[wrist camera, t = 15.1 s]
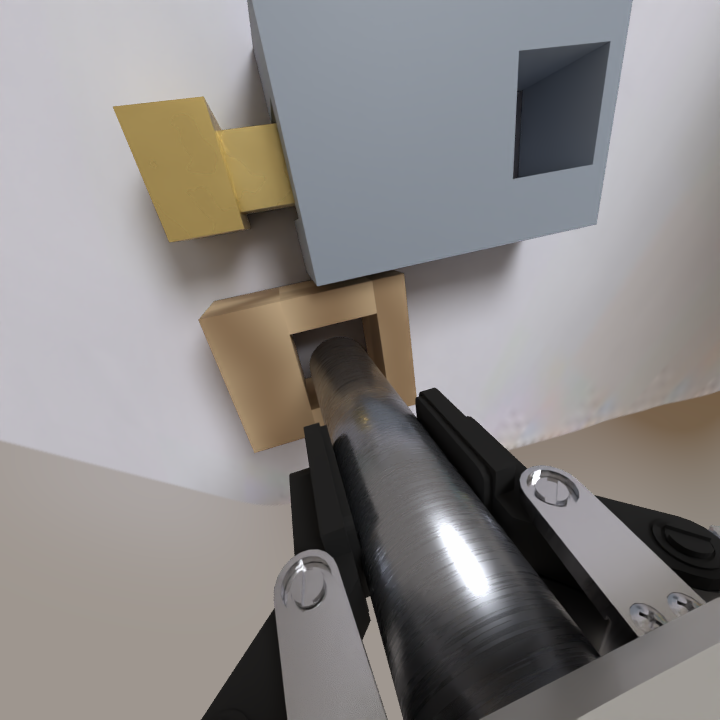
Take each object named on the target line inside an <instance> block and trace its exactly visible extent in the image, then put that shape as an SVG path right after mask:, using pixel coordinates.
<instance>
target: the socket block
mask: <svg viewBox="0 0 720 720" xmlns="http://www.w3.org/2000/svg"><path fill="white" fill-rule="evenodd" d="M632 1H633V0H247V2H248V11H249V19H250V27H251V36H252V44H253V49H254V54H255V58H256V62H257V66H258V70H259V75H260V79H261V83H262V87H263V91H264V95H265V100H266V104H267V108H268V112H269V116H270V121H271V123H275V122H276V124H277V128H278V132H279V136H280V141H281V145H282V149H283V154H284V158H285V162H286V166H287V171H288V175H289V179H290V184H291V188H292V192H293V197H294V201H295V205H296V209H297V214H298V218H299V219H297V220H295V225H296V229H297V233H298V238H299V242H300V246H301V250H302V254H303V259H304V263H305V267H306V271H307V273H308V274H309V276H310V277H311V278H312V280H313V281H314V282H315V284H316V285H317V286H321V285H326V284H330V283H335V282H339V281H344V280H348V279H353V278H357V277H362V276H366V275H371V274H375V273H380V272H384V271H389V270H393V269H398V268H402V267H407V266H411V265H416V264H420V263H425V262H429V261H434V260H438V259H443V258H447V257H452V256H456V255H461V254H465V253H470V252H474V251H479V250H483V249H488V248H492V247H497V246H501V245H506V244H510V243H515V242H519V241H524V240H528V239H533V238H537V237H542V236H546V235H551V234H555V233H560V232H564V231H569V230H573V229H578V228H582V227H587V226H591V225H596V224H597V218H598V211H599V205H600V199H601V193H602V187H603V180H604V174H605V168H606V162H607V156H608V150H609V143H610V137H611V131H612V125H613V119H614V112H615V106H616V100H617V94H618V88H619V81H620V75H621V69H622V63H623V57H624V51H625V44H626V38H627V32H628V26H629V20H630V13H631V7H632ZM522 90H523V95H522V114H521V132H520V151H519V169H518V178H516V179H513V166H514V145H515V124H516V103H517V91H522Z"/></svg>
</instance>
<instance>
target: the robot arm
mask: <svg viewBox="0 0 720 720" xmlns="http://www.w3.org/2000/svg"><path fill="white" fill-rule="evenodd" d="M415 404H416V413H417V419H418V420H419V422H420V423H421V424H422V425H423V427H424V428H425V429H426V431H427V432H428V433H429V434H430V436H431V437H432V438H433V440H434V441H435V442H436V444H437V445H438V446H439V447H440V449H441V450H442V451H443V453H444V454H445V455H446V456H447V458H448V459H449V460H450V462H451V463H452V464H453V466H454V467H455V468H456V469H457V471H458V472H459V473H460V475H461V476H462V477H463V478H464V480H465V481H466V482H467V484H468V485H469V486H470V488H471V489H472V490H473V491H474V493H475V494H476V495H477V497H478V498H479V499H480V500H481V502H482V503H483V504H484V506H485V507H486V508H487V510H488V511H489V512H490V513H491V515H492V516H493V517H494V519H495V520H496V521H497V522H498V524H499V525H500V526H501V528H502V529H503V530H504V532H505V533H506V534H507V535H508V537H509V538H510V539H511V541H512V542H513V543H514V544H515V546H516V547H517V548H518V550H519V551H520V552H521V554H522V555H523V556H524V557H525V559H526V560H527V561H528V563H529V564H530V565H531V566H532V568H533V569H534V570H535V572H536V573H537V574H538V576H539V577H540V578H541V579H542V581H543V582H544V583H545V585H546V586H547V587H548V588H549V590H550V591H551V592H552V594H553V595H554V596H555V598H556V599H557V600H558V601H559V603H560V604H561V605H562V607H563V608H564V609H565V610H566V612H567V613H568V614H569V616H570V617H571V618H572V620H573V621H574V622H575V623H576V625H577V626H578V627H579V629H580V630H581V631H582V632H583V634H584V635H585V636H586V638H587V639H588V640H589V642H590V643H591V644H592V645H593V647H594V648H595V649H596V651H597V652H598V653H599V654H600V656H601V657H600V658H598V659H596V660H594V661H592V662H590V663H588V664H586V665H584V666H582V667H580V668H578V669H576V670H574V671H572V672H571V673H569V674H567V675H565V676H563V677H561V678H559V679H557V680H555V681H553V682H551V683H549V684H547V685H545V686H543V687H541V688H540V689H538V690H536V691H534V692H532V693H530V694H528V695H526V696H524V697H522V698H520V699H518V700H516V701H514V702H512V703H511V704H509V705H507V706H505V707H503V708H501V709H499V710H497V711H495V712H493V713H491V714H489V715H487V716H485V717H483V718H482V719H480V720H720V526H712V525H711V526H710V528H709V530H707V529H706V528H704V527H702V526H700V525H698V524H696V523H694V522H692V521H690V520H687V519H684V518H681V517H678V516H675V515H670V514H667V513H662V512H659V511H655V510H651V509H647V508H643V507H639V506H635V505H631V504H627V503H623V502H619V501H615V500H611V499H607V498H603V497H600V496H596V495H593V494H592V493H591V492H590V491H589V490H588V489H587V488H586V487H585V486H584V485H583V484H582V483H581V482H580V481H579V480H577V479H576V478H575V477H573V476H572V475H571V474H569V473H567V472H565V471H563V470H561V469H558V468H555V467H551V466H542V465H541V466H533V467H530V468H528V469H527V468H526V467H525V466H524V465H523V464H522V463H521V462H519V461H518V460H517V459H516V458H515V457H514V456H513V455H512V454H511V453H510V452H509V451H508V450H507V449H506V448H504V447H503V446H502V445H501V444H500V443H499V442H498V441H497V440H496V439H495V438H494V437H493V436H492V435H491V434H489V433H488V432H487V431H486V430H485V429H484V428H483V427H482V426H481V425H480V424H479V423H478V422H477V421H476V420H474V419H473V418H472V417H469V416H467V417H466V416H465V415H464V414H463V413H462V412H461V411H460V410H458V409H457V408H456V407H455V406H454V405H453V404H452V403H451V402H450V401H449V400H448V399H447V398H446V397H445V396H444V395H443V394H442V393H441V392H440V391H439V390H438V389H436V388H432V389H428V390H425V391H422V392H420V393H419V397H416V398H415ZM303 428H304V435H305V441H306V448H307V454H308V461H309V467H310V468H307V469H304V470H301V471H297V472H294V473H291V474H290V476H289V479H290V495H291V509H292V524H293V538H294V554H295V556H294V557H293V558H291V559H290V561H288V563H287V564H286V565H285V566H284V567H283V569H282V570H281V572H280V574H279V575H278V577H277V581H276V584H275V587H274V605H275V608H274V610H273V611H272V613H271V615H270V616H269V617H268V619H267V620H266V622H265V623H264V625H263V627H262V628H261V630H260V631H259V633H258V634H257V636H256V637H255V639H254V640H253V642H252V643H251V645H250V646H249V648H248V649H247V651H246V652H245V654H244V656H243V657H242V658H241V660H240V661H239V663H238V664H237V666H236V668H235V669H234V671H233V672H232V674H231V675H230V677H229V678H228V680H227V681H226V683H225V684H224V686H223V687H222V689H221V690H220V692H219V693H218V695H217V696H216V698H215V699H214V701H213V703H212V704H211V706H210V707H209V709H208V710H207V712H206V713H205V715H204V716H203V718H202V719H201V720H388V719H387V716H386V713H385V710H384V706H383V703H382V700H381V697H380V694H379V691H378V688H377V685H376V682H375V678H374V675H373V672H372V669H371V666H370V663H369V660H368V657H367V654H366V651H365V648H364V644H363V641H362V640H363V637H364V635H365V632H366V630H367V628H368V625H369V623H370V621H371V620H370V616H369V613H368V612H369V609H368V605H367V601H366V597H369V596H370V593H369V589H368V585H367V582H366V578H365V574H364V570H363V567H362V561H361V559H362V552H361V548H360V544H359V540H358V537H357V533H356V529H355V526H354V522H353V518H352V515H351V511H350V507H349V504H348V500H347V497H346V493H345V489H344V486H343V482H342V479H341V475H340V472H339V468H338V464H337V461H336V457H335V454H334V450H333V446H332V443H331V439H330V436H329V432H328V428H327V425H324V426H320V423H315V424H312V425H309V426H305V427H303Z"/></svg>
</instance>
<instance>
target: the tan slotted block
mask: <svg viewBox="0 0 720 720" xmlns="http://www.w3.org/2000/svg"><path fill="white" fill-rule="evenodd" d="M360 317H361V318H362V324H363V329H364V335H365V341H366V347H367V353H368V356H369V357H370V358H371V359H372V361H373V362H374V363H375V365H376V366H377V367H378V369H379V370H380V371H381V372H382V374H383V375H384V376H385V378H386V379H387V380H388V381H389V383H390V384H391V385H392V387H393V388H394V389H395V391H396V392H397V393H398V394H399V396H400V397H401V398H402V400H403V401H404V402H405V403H406V405H407V406H411V405H415V398H416V387H415V377H414V368H413V358H412V348H411V338H410V328H409V318H408V308H407V298H406V288H405V279H404V273H401V272H398V271H395V270H389V271H384V272H380V273H375V274H371V275H366V276H362V277H357V278H353V279H348V280H344V281H339V282H335V283H330V284H326V285H321V286H317V285H316V284H315V282H314V281H313V280H309V281H305V282H300V283H295V284H291V285H286V286H282V287H277V288H272V289H268V290H263V291H259V292H254V293H250V294H245V295H240V296H236V297H231V298H227V299H222V300H217V301H214V302H213V303H212V304H211V306H210V307H209V308H208V309H207V310H206V312H205V313H204V314H203V315H202V316H201V317H200V319H199V322H200V325H201V327H202V329H203V332H204V334H205V337H206V339H207V341H208V344H209V346H210V348H211V351H212V353H213V356H214V358H215V360H216V363H217V365H218V367H219V370H220V372H221V375H222V377H223V379H224V382H225V384H226V386H227V389H228V391H229V394H230V396H231V398H232V401H233V403H234V405H235V408H236V410H237V412H238V415H239V417H240V420H241V422H242V424H243V427H244V429H245V431H246V434H247V436H248V439H249V441H250V443H251V446H252V448H253V450H254V453H256V452H259V451H263V450H266V449H269V448H273V447H276V446H279V445H283V444H286V443H289V442H292V441H296V440H299V439H302V438H305V435H304V428H303V427H305V426H309V425H312V424H315V423H320V426H324V421H323V417H322V413H321V410H320V406H319V402H318V399H317V395H316V391H315V387H314V384H313V380H312V377H310V378H306V379H305V377H304V374H303V370H302V367H301V363H300V360H299V356H298V353H297V349H296V346H295V342H294V338H293V335H292V334H295V333H299V332H303V331H307V330H311V329H315V328H319V327H323V326H327V325H331V324H336V323H340V322H344V321H348V320H352V319H356V318H360Z"/></svg>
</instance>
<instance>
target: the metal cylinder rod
mask: <svg viewBox="0 0 720 720" xmlns="http://www.w3.org/2000/svg"><path fill="white" fill-rule="evenodd" d="M310 372H311V376H312V380H313V384H314V387H315V391H316V395H317V399H318V402H319V406H320V410H321V413H322V417H323V421H324V425H327V428H328V432H329V436H330V439H331V443H332V446H333V450H334V454H335V457H336V461H337V464H338V468H339V472H340V475H341V479H342V482H343V486H344V489H345V493H346V497H347V500H348V504H349V507H350V511H351V515H352V518H353V522H354V526H355V529H356V533H357V537H358V540H359V544H360V548H361V552H362V559H361V561H362V567H363V570H364V574H365V578H366V582H367V585H368V589H369V593H370V597H371V600H372V604H373V608H374V611H375V615H376V619H377V623H378V626H379V630H380V634H381V637H382V641H383V645H384V649H385V653H386V656H387V660H388V664H389V668H390V671H391V675H392V679H393V682H394V686H395V690H396V694H397V697H398V701H399V705H400V709H401V712H402V716H403V720H480V719H482V718H483V717H485V716H487V715H489V714H491V713H493V712H495V711H497V710H499V709H501V708H503V707H505V706H507V705H509V704H511V703H512V702H514V701H516V700H518V699H520V698H522V697H524V696H526V695H528V694H530V693H532V692H534V691H536V690H538V689H540V688H541V687H543V686H545V685H547V684H549V683H551V682H553V681H555V680H557V679H559V678H561V677H563V676H565V675H567V674H569V673H571V672H572V671H574V670H576V669H578V668H580V667H582V666H584V665H586V664H588V663H590V662H592V661H594V660H596V659H598V658H600V657H601V656H600V654H599V653H598V652H597V651H596V649H595V648H594V647H593V645H592V644H591V643H590V642H589V640H588V639H587V638H586V636H585V635H584V634H583V632H582V631H581V630H580V629H579V627H578V626H577V625H576V623H575V622H574V621H573V620H572V618H571V617H570V616H569V614H568V613H567V612H566V610H565V609H564V608H563V607H562V605H561V604H560V603H559V601H558V600H557V599H556V598H555V596H554V595H553V594H552V592H551V591H550V590H549V588H548V587H547V586H546V585H545V583H544V582H543V581H542V579H541V578H540V577H539V576H538V574H537V573H536V572H535V570H534V569H533V568H532V566H531V565H530V564H529V563H528V561H527V560H526V559H525V557H524V556H523V555H522V554H521V552H520V551H519V550H518V548H517V547H516V546H515V544H514V543H513V542H512V541H511V539H510V538H509V537H508V535H507V534H506V533H505V532H504V530H503V529H502V528H501V526H500V525H499V524H498V522H497V521H496V520H495V519H494V517H493V516H492V515H491V513H490V512H489V511H488V510H487V508H486V507H485V506H484V504H483V503H482V502H481V500H480V499H479V498H478V497H477V495H476V494H475V493H474V491H473V490H472V489H471V488H470V486H469V485H468V484H467V482H466V481H465V480H464V478H463V477H462V476H461V475H460V473H459V472H458V471H457V469H456V468H455V467H454V466H453V464H452V463H451V462H450V460H449V459H448V458H447V456H446V455H445V454H444V453H443V451H442V450H441V449H440V447H439V446H438V445H437V444H436V442H435V441H434V440H433V438H432V437H431V436H430V434H429V433H428V432H427V431H426V429H425V428H424V427H423V425H422V424H421V423H420V422H419V420H418V419H417V418H416V416H415V415H414V414H413V413H412V411H411V410H410V409H409V407H408V406H407V405H406V403H405V402H404V401H403V400H402V398H401V397H400V396H399V394H398V393H397V392H396V391H395V389H394V388H393V387H392V385H391V384H390V383H389V381H388V380H387V379H386V378H385V376H384V375H383V374H382V372H381V371H380V370H379V369H378V367H377V366H376V365H375V363H374V362H373V361H372V359H371V358H370V357H369V356H368V354H367V353H366V352H365V350H364V349H363V348H362V347H361V345H360V344H359V343H357V342H356V341H355V340H353V339H350V338H347V337H334V338H331V339H328V340H326V341H324V342H322V343H321V344H320V345H319V346H318V347H317V348H316V349H315V350H314V352H313V354H312V356H311V359H310Z"/></svg>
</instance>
